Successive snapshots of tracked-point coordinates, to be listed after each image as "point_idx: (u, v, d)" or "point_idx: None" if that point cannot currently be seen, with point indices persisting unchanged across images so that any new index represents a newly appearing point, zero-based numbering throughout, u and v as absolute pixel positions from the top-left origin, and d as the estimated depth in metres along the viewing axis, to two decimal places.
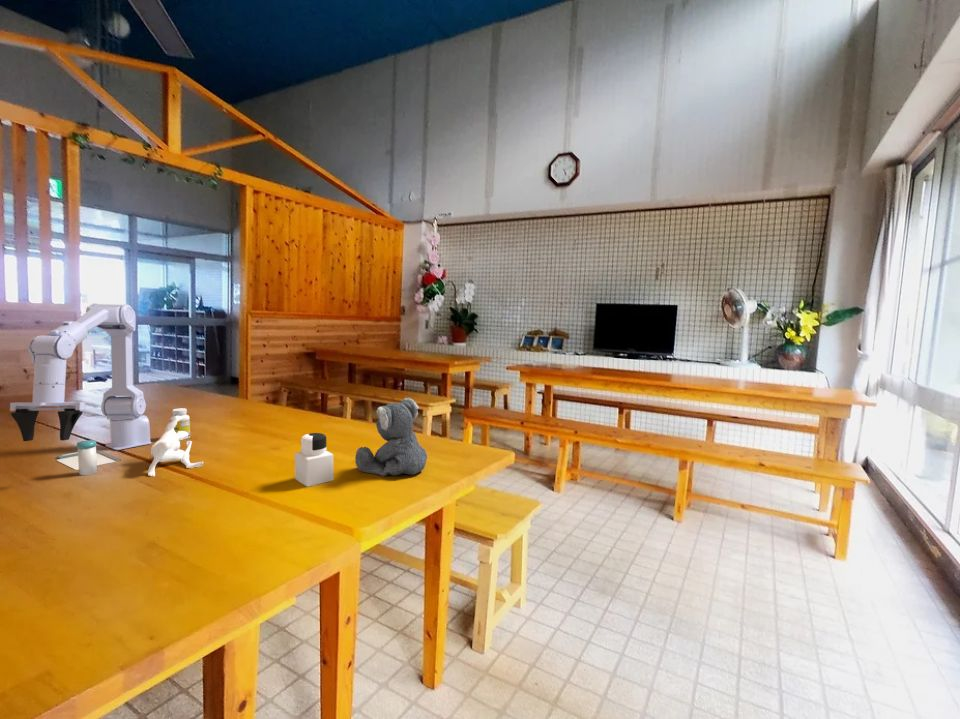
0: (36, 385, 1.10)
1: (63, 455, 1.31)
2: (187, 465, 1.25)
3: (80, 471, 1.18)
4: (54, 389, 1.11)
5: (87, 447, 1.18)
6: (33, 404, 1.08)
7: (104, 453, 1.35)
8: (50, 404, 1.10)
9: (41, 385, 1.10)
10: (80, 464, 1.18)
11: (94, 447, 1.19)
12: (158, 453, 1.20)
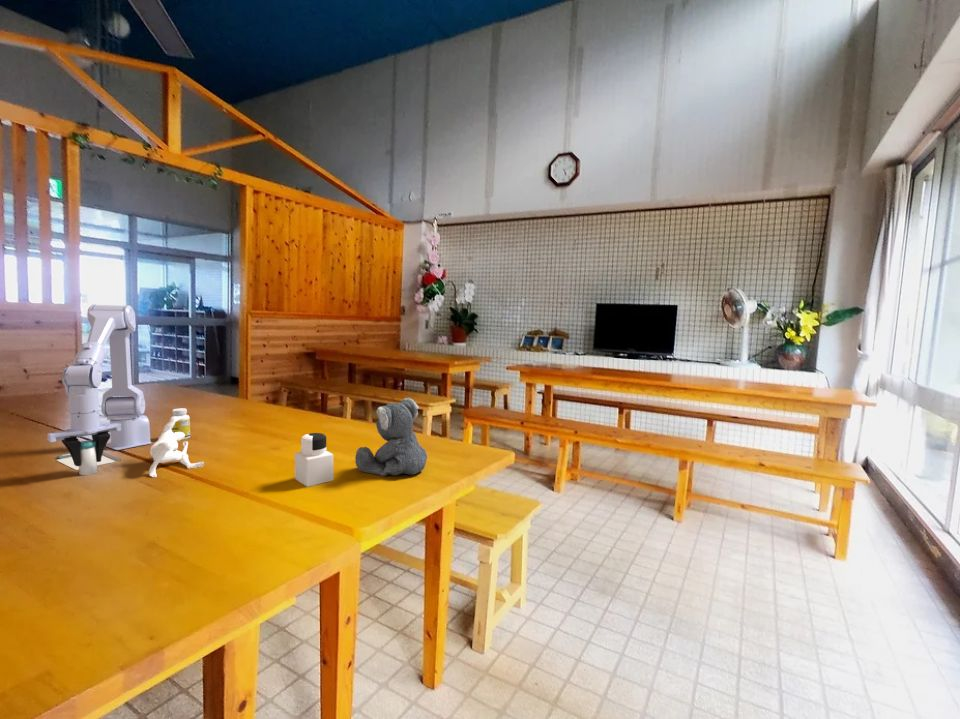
0: (83, 414, 1.16)
1: (63, 455, 1.31)
2: (188, 465, 1.25)
3: (80, 471, 1.18)
4: (98, 415, 1.19)
5: (87, 447, 1.18)
6: (89, 432, 1.16)
7: (104, 453, 1.35)
8: (99, 430, 1.19)
9: (89, 414, 1.17)
10: None
11: (94, 447, 1.19)
12: (159, 454, 1.19)
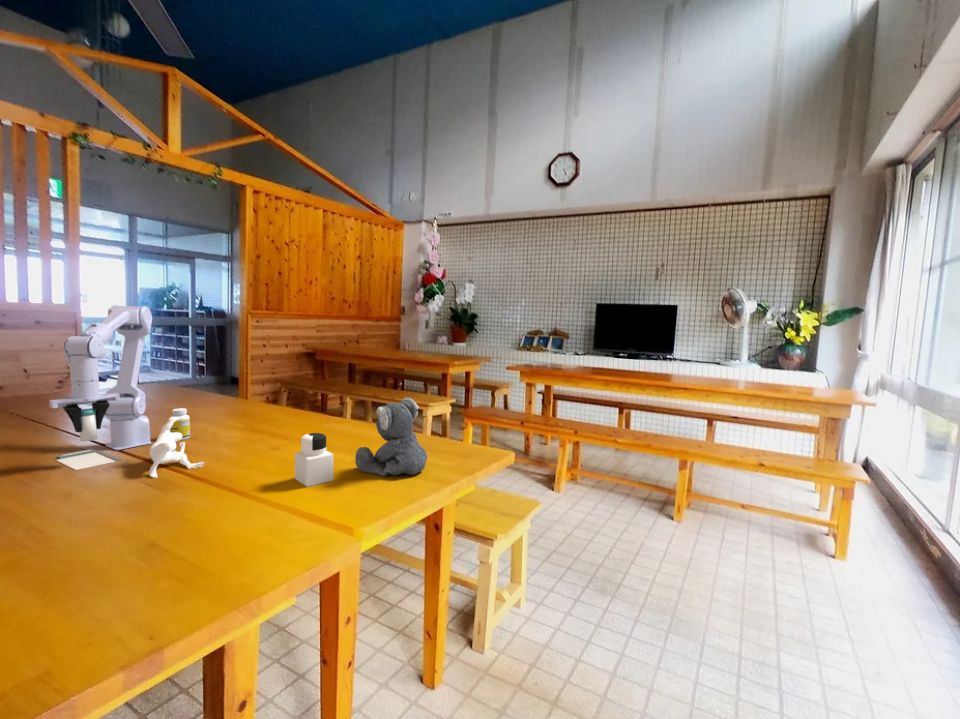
0: (84, 383, 1.22)
1: (63, 455, 1.31)
2: (188, 466, 1.25)
3: (81, 437, 1.24)
4: (98, 384, 1.25)
5: (87, 414, 1.24)
6: (89, 400, 1.22)
7: (104, 453, 1.35)
8: (98, 398, 1.25)
9: (89, 382, 1.23)
10: (81, 430, 1.24)
11: (94, 415, 1.25)
12: (160, 454, 1.19)
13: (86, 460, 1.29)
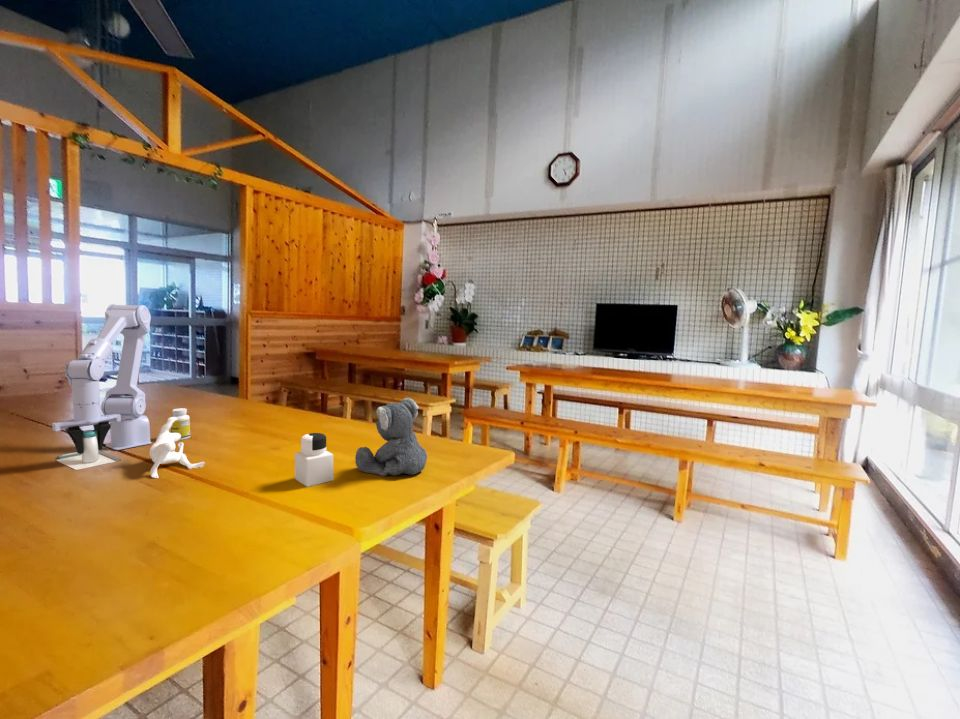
0: (85, 405, 1.24)
1: (63, 455, 1.31)
2: (188, 466, 1.25)
3: (83, 458, 1.26)
4: (99, 406, 1.28)
5: (89, 436, 1.26)
6: (91, 422, 1.25)
7: (104, 453, 1.35)
8: (100, 420, 1.27)
9: (91, 405, 1.25)
10: (83, 452, 1.26)
11: (96, 436, 1.28)
12: (161, 455, 1.19)
13: None
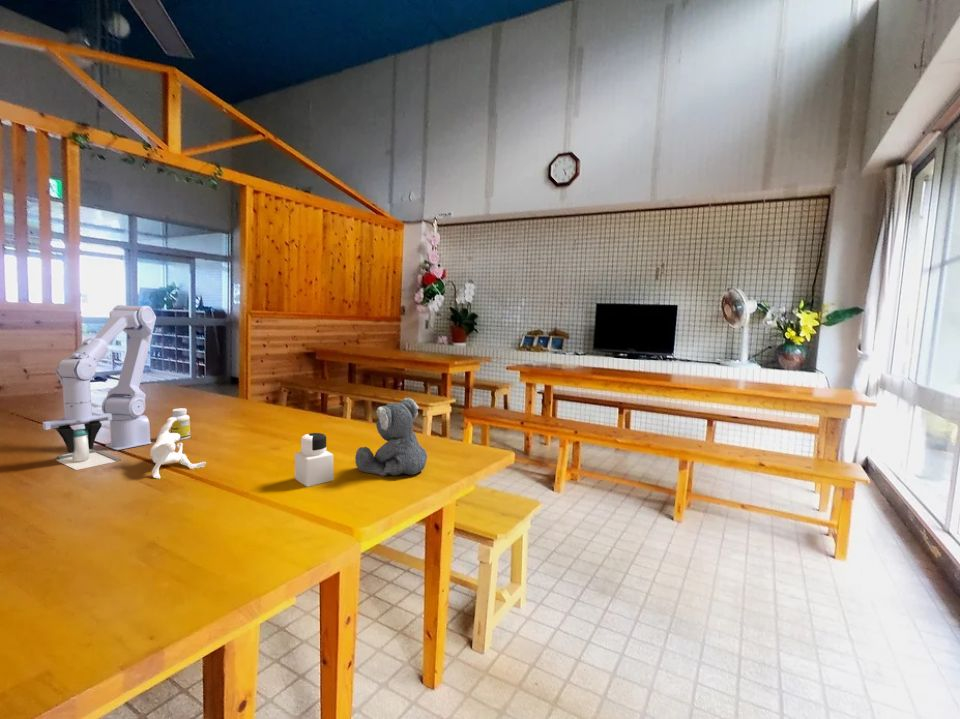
0: (76, 404, 1.25)
1: (63, 455, 1.31)
2: (190, 466, 1.25)
3: (73, 457, 1.27)
4: (90, 406, 1.28)
5: (80, 435, 1.27)
6: (81, 421, 1.25)
7: (104, 453, 1.35)
8: (91, 419, 1.28)
9: (82, 404, 1.26)
10: None
11: (86, 435, 1.28)
12: (163, 455, 1.18)
13: (86, 460, 1.29)
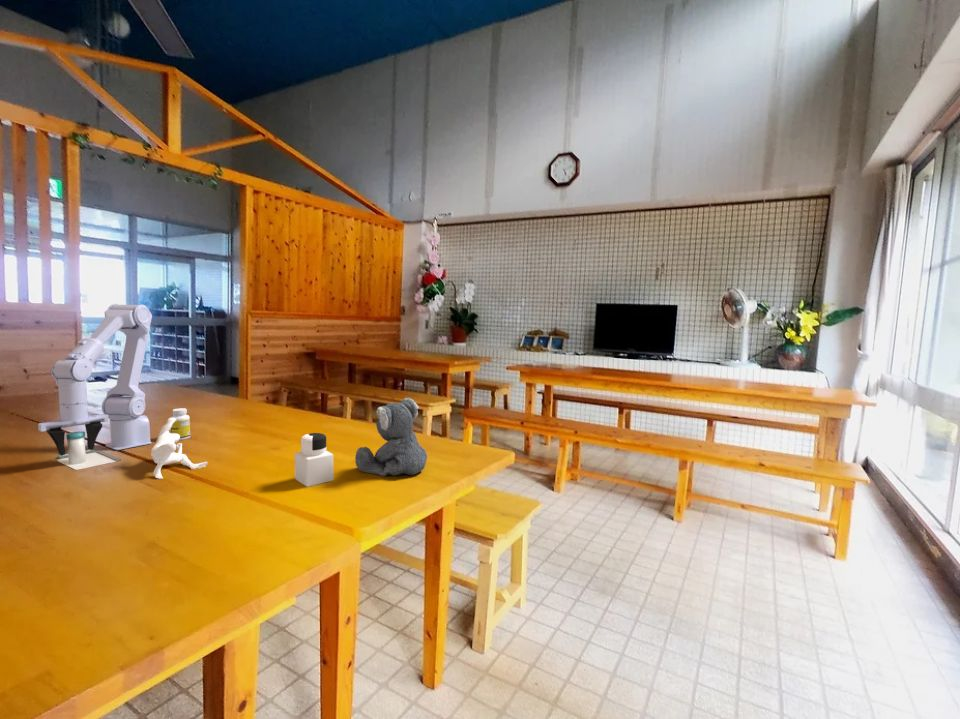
0: (72, 406, 1.23)
1: (63, 455, 1.31)
2: (191, 466, 1.24)
3: (69, 460, 1.26)
4: (86, 407, 1.27)
5: (76, 438, 1.25)
6: (77, 422, 1.24)
7: (104, 453, 1.35)
8: (87, 420, 1.27)
9: (78, 405, 1.24)
10: (69, 454, 1.25)
11: (83, 438, 1.27)
12: (165, 455, 1.18)
13: (86, 460, 1.29)
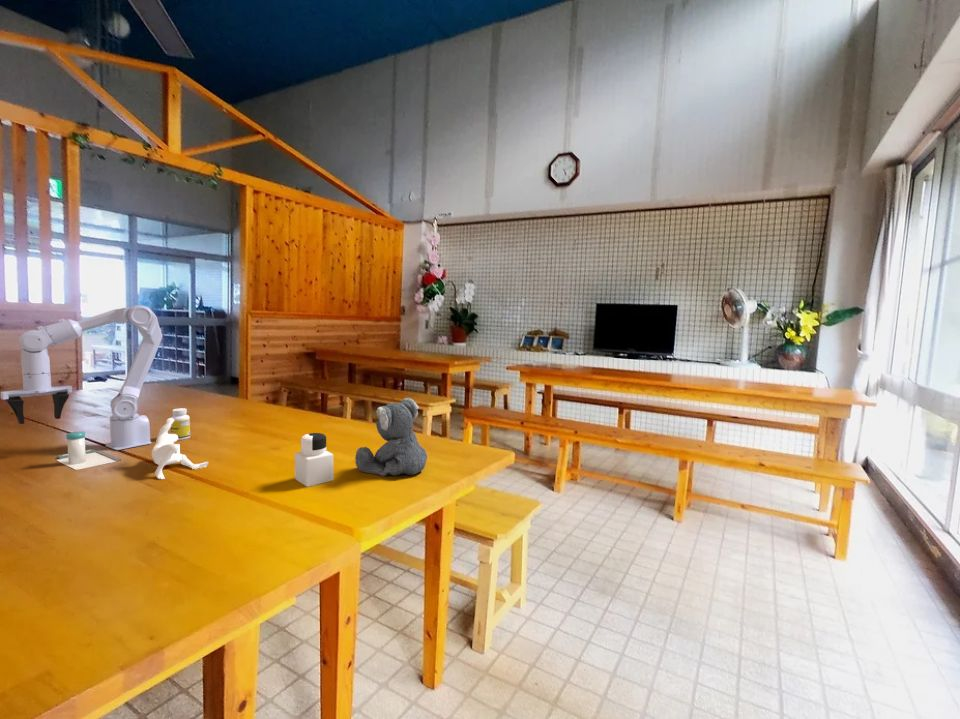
0: (34, 375, 1.27)
1: (63, 455, 1.31)
2: (192, 466, 1.24)
3: (69, 460, 1.26)
4: (49, 377, 1.30)
5: (76, 438, 1.25)
6: (39, 391, 1.27)
7: (104, 453, 1.35)
8: (50, 390, 1.30)
9: (40, 375, 1.28)
10: (69, 454, 1.25)
11: (83, 438, 1.27)
12: (167, 455, 1.18)
13: (86, 460, 1.29)
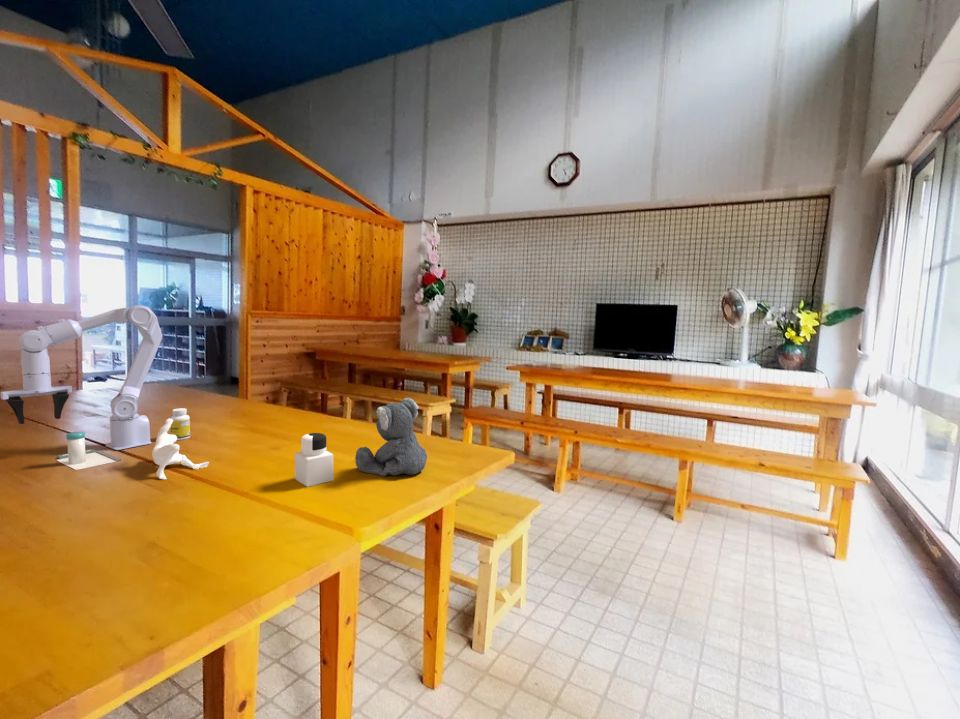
0: (34, 375, 1.27)
1: (63, 455, 1.31)
2: (193, 466, 1.24)
3: (69, 460, 1.26)
4: (49, 377, 1.30)
5: (76, 438, 1.25)
6: (39, 391, 1.27)
7: (104, 453, 1.35)
8: (50, 390, 1.30)
9: (40, 375, 1.28)
10: (69, 454, 1.25)
11: (83, 438, 1.27)
12: (168, 456, 1.18)
13: (86, 460, 1.29)
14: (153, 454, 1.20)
